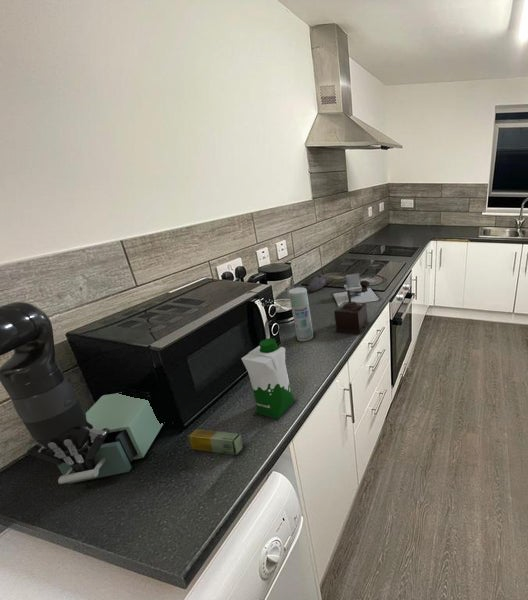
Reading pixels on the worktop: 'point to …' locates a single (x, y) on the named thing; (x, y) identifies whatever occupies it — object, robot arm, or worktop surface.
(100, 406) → the green drawer housing
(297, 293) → the spray can
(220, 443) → the medication box
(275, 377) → the milk carton
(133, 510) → the worktop surface
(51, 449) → the robot arm
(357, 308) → the manual coffee grinder
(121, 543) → the worktop surface
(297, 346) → the worktop surface
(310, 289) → the perforated stone tool
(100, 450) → the green drawer
